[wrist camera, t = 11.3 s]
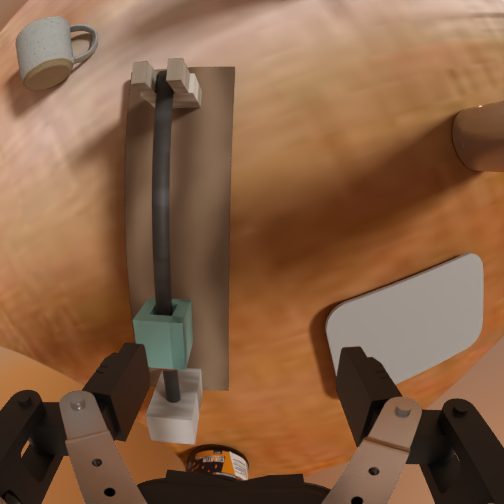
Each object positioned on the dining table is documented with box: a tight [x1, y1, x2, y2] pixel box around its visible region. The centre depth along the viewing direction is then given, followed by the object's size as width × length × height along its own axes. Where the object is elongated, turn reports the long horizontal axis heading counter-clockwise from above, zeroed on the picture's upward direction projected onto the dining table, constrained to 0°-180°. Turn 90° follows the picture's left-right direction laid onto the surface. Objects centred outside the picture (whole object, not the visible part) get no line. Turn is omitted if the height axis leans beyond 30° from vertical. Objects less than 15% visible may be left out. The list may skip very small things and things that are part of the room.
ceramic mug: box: [16, 16, 98, 91], centre depth 26 cm, size 11×8×8 cm
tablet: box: [325, 253, 483, 384], centre depth 39 cm, size 16×26×2 cm, turn 107°
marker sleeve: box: [133, 298, 193, 370], centre depth 29 cm, size 5×5×6 cm
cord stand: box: [125, 58, 235, 444], centre depth 30 cm, size 12×40×12 cm, turn 178°
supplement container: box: [186, 445, 249, 482], centre depth 38 cm, size 10×10×12 cm
